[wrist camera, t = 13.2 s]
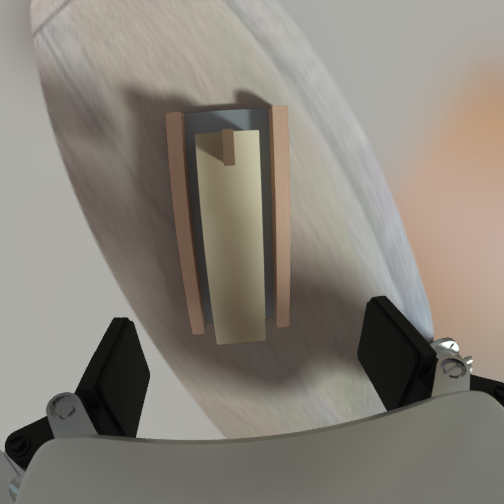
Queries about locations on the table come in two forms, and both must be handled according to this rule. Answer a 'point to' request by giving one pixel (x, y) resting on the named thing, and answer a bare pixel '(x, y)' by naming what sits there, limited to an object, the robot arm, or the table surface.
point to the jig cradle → (273, 204)
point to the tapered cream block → (233, 232)
